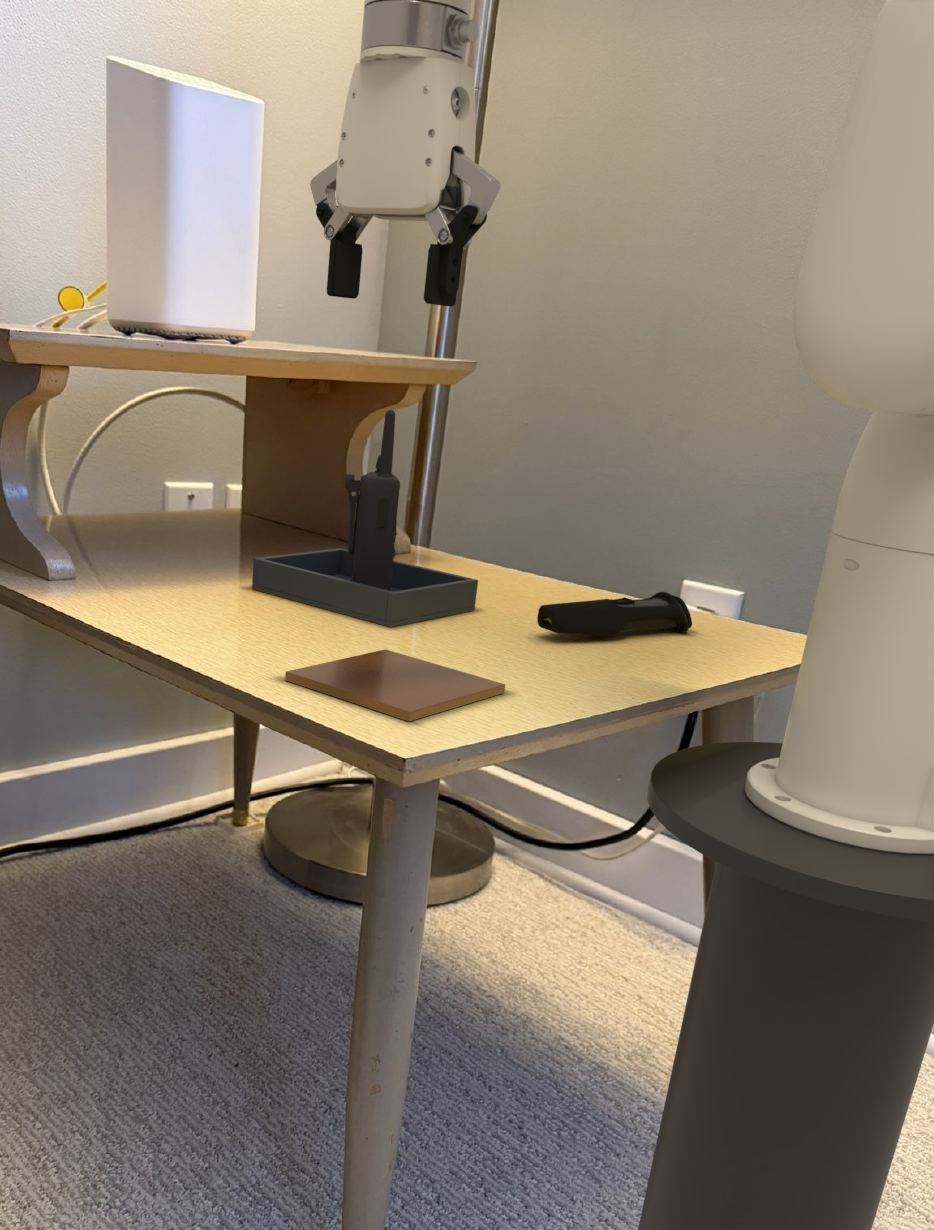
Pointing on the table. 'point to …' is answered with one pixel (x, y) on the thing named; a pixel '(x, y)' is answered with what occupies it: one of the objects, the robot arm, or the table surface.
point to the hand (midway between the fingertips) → (389, 300)
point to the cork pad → (395, 684)
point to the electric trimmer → (616, 615)
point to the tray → (364, 588)
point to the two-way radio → (374, 517)
